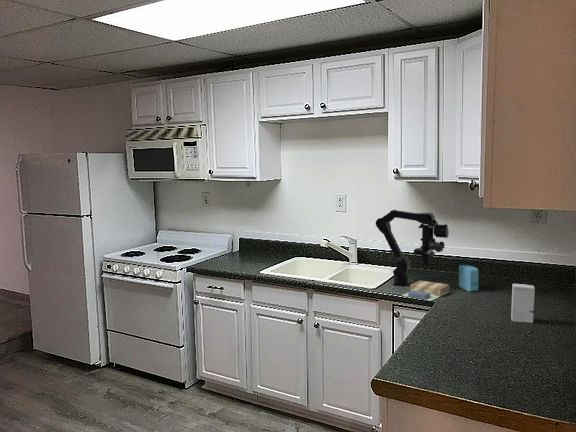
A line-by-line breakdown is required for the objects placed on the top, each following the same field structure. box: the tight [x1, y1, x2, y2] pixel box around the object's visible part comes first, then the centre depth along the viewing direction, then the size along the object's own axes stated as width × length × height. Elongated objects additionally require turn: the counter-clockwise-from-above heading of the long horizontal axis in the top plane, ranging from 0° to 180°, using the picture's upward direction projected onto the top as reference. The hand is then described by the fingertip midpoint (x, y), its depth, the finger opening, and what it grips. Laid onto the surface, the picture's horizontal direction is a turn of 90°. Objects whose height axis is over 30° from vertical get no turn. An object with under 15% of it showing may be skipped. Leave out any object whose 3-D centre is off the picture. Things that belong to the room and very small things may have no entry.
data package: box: [458, 264, 479, 293], centre depth 256 cm, size 12×4×12 cm, turn 9°
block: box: [407, 290, 430, 300], centre depth 244 cm, size 9×6×2 cm, turn 49°
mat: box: [401, 291, 440, 302], centre depth 245 cm, size 16×9×1 cm, turn 48°
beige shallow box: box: [409, 280, 450, 298], centre depth 252 cm, size 16×11×4 cm
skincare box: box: [510, 283, 536, 324], centre depth 203 cm, size 8×6×15 cm
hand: (427, 265), depth 261 cm, fingers closed
